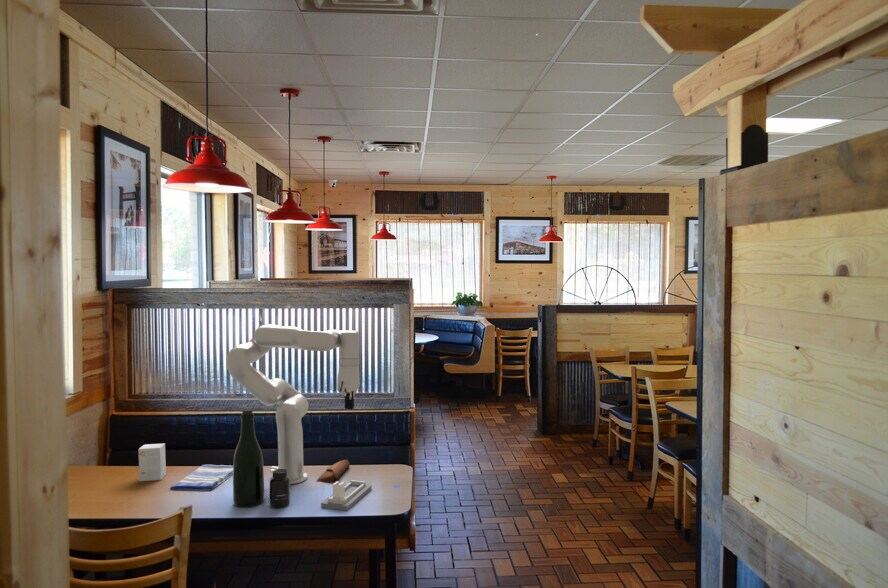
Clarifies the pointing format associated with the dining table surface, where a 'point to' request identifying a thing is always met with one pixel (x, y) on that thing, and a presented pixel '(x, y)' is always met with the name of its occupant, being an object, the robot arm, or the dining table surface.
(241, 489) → the beer bottle
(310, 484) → the dining table surface
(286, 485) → the supplement bottle
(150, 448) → the small box
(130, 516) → the dining table surface
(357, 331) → the robot arm
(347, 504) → the fader console
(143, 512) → the dining table surface
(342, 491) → the fader knob
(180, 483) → the dish towel
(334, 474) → the sunglasses case
